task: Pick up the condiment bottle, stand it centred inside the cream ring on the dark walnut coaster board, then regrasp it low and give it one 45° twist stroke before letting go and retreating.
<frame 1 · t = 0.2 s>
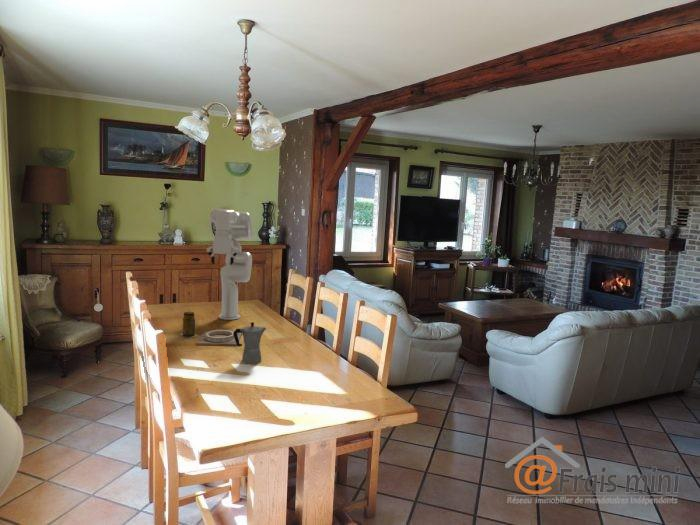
hand: (222, 264, 269), 36 cm above the table, tool pointing down, fingers open, 9 cm apart
coffeepot: (249, 361, 226), on the table
holder: (220, 339, 255), on the table
condiment: (189, 335, 259), on the table
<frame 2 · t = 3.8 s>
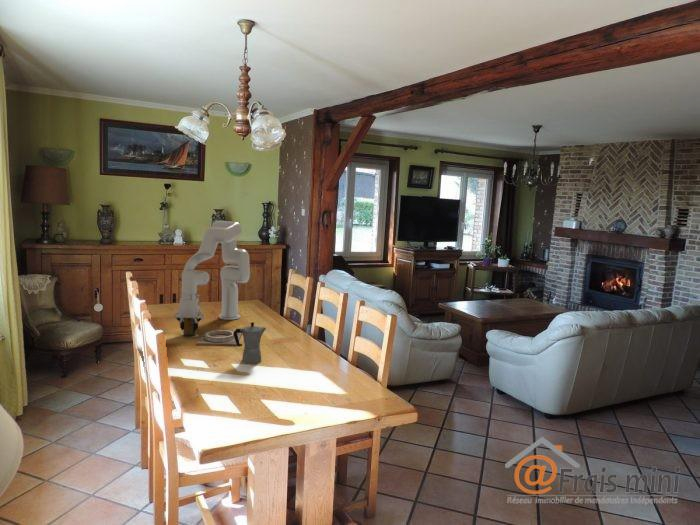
hand: (189, 329, 259), 3 cm above the table, tool pointing down, fingers closed on condiment, 6 cm apart
condiment: (189, 335, 259), on the table, touching gripper
everything else where it was.
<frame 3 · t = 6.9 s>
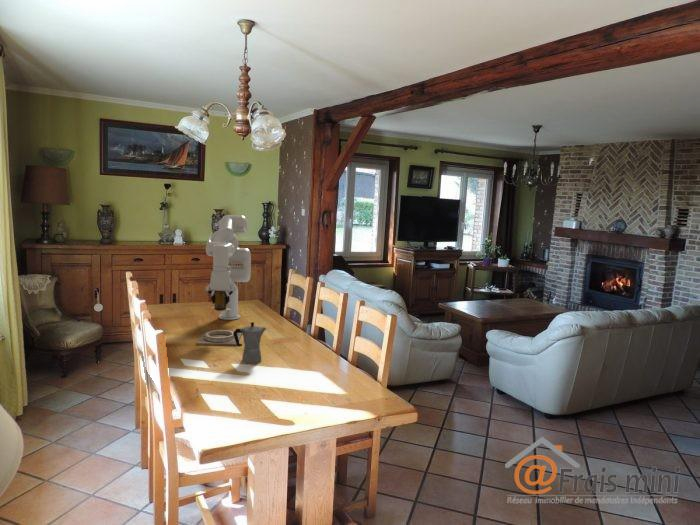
hand: (220, 302, 252), 19 cm above the table, tool pointing down, fingers closed on condiment, 6 cm apart
condiment: (221, 309, 253), point 16 cm above the table, touching gripper
everything else where it was.
when the fingers open (5 cm above the table, at t = 10.0 s): condiment stays where it is, resting on holder.
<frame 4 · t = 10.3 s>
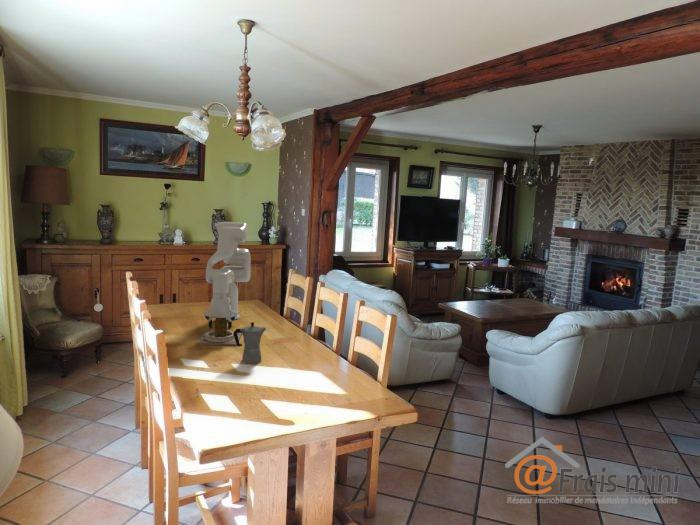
hand: (220, 328, 254), 6 cm above the table, tool pointing down, fingers open, 9 cm apart
condiment: (221, 337, 255), point 1 cm above the table, touching holder
everything else where it was.
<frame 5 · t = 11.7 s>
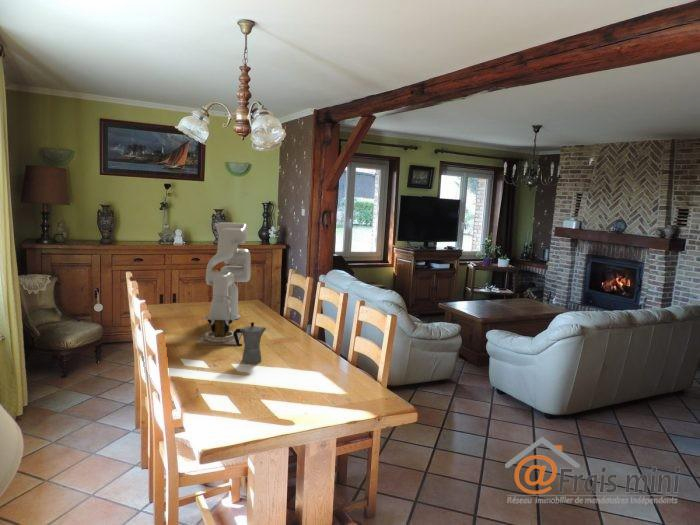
hand: (220, 331, 254), 4 cm above the table, tool pointing down, fingers closed on condiment, 6 cm apart
condiment: (220, 337, 255), point 1 cm above the table, touching gripper, holder
everything else where it was.
when the fingers open (4 cm above the table, at t = 12.9 s): condiment stays where it is, resting on holder.
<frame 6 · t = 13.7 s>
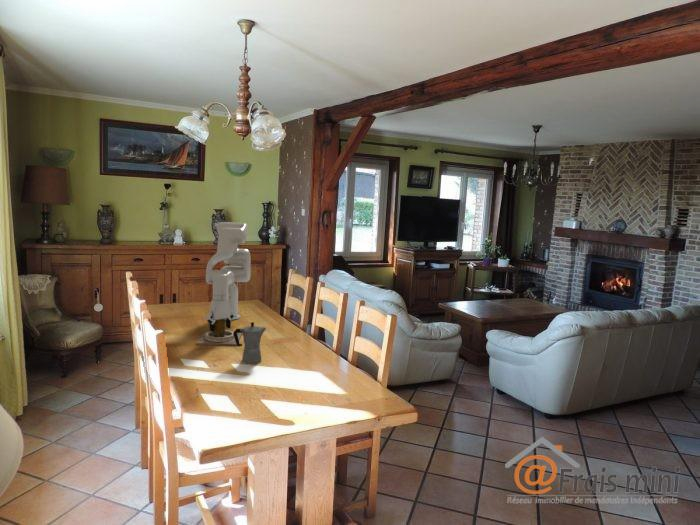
hand: (220, 329, 254), 5 cm above the table, tool pointing down, fingers open, 9 cm apart
condiment: (220, 337, 255), point 1 cm above the table, touching holder
everything else where it was.
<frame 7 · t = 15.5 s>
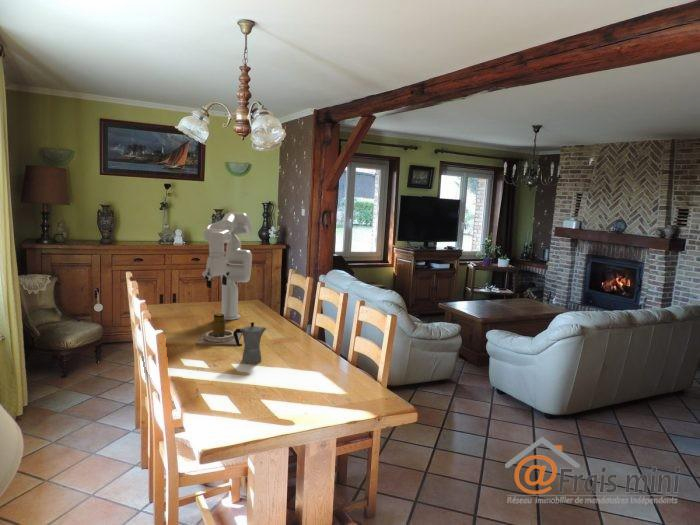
hand: (216, 286, 263), 26 cm above the table, tool pointing down, fingers open, 9 cm apart
nothing on the table moved.
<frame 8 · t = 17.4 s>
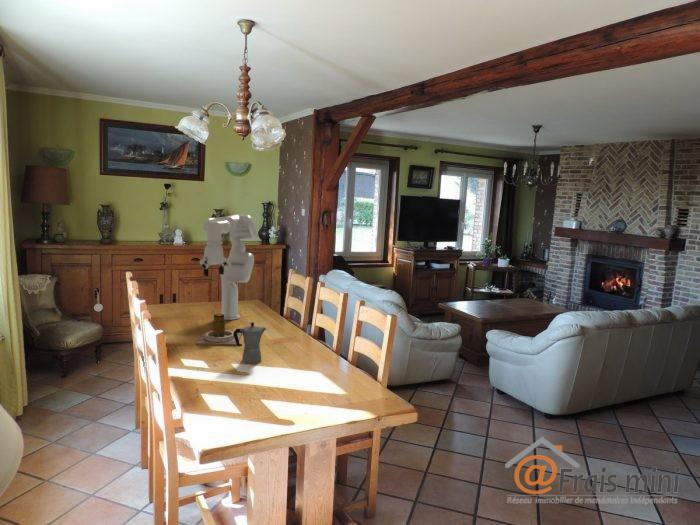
hand: (213, 275, 269), 30 cm above the table, tool pointing down, fingers open, 9 cm apart
nothing on the table moved.
at the end: condiment 0.6 cm off-centre on the holder, point 0.8 cm above the holder's base; condiment tilted 0°; the gripper is holding nothing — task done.
